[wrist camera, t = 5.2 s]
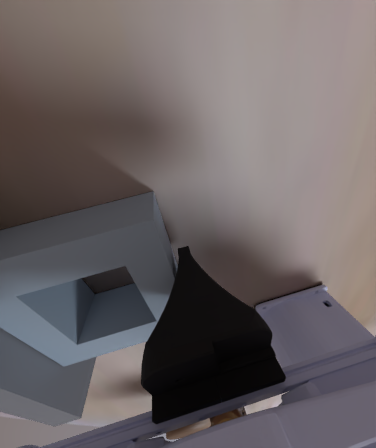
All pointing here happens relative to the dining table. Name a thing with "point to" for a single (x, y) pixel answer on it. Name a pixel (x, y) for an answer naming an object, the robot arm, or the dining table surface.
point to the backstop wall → (41, 383)
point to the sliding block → (83, 267)
